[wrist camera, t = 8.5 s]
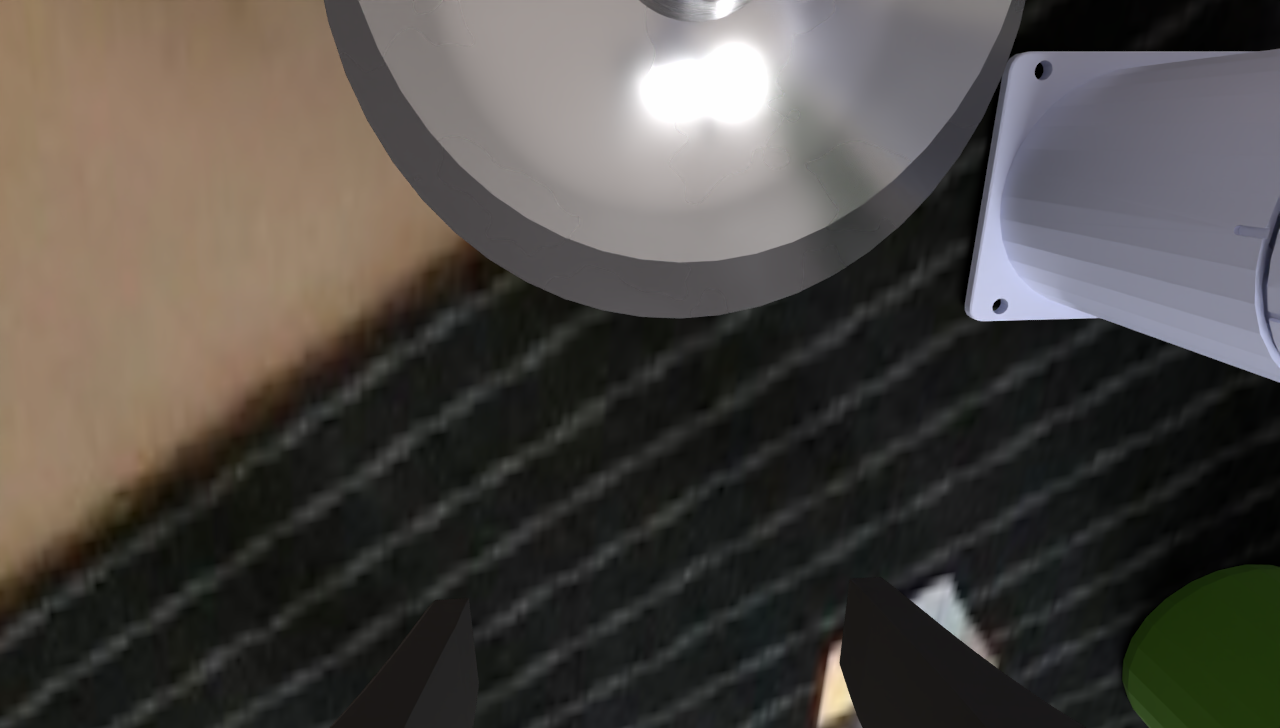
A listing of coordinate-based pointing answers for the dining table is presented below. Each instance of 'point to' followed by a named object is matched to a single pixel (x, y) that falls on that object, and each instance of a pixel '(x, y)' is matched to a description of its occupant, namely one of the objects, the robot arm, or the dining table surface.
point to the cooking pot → (622, 277)
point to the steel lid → (684, 108)
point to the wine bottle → (1210, 654)
